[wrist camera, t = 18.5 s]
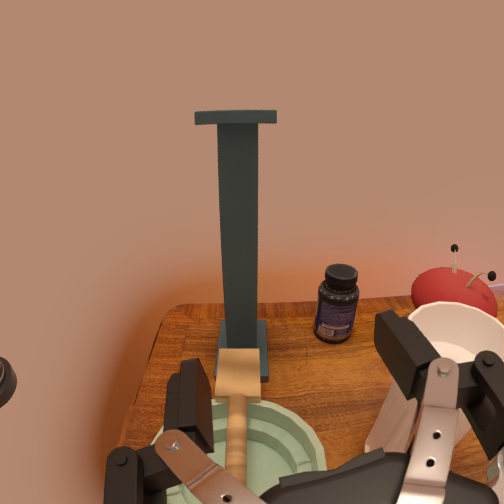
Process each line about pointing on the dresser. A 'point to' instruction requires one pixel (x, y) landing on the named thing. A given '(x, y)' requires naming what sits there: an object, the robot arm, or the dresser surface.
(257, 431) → the bowl
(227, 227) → the headphone stand
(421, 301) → the mushroom
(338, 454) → the dresser surface
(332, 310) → the pill bottle
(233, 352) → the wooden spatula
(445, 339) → the cup
